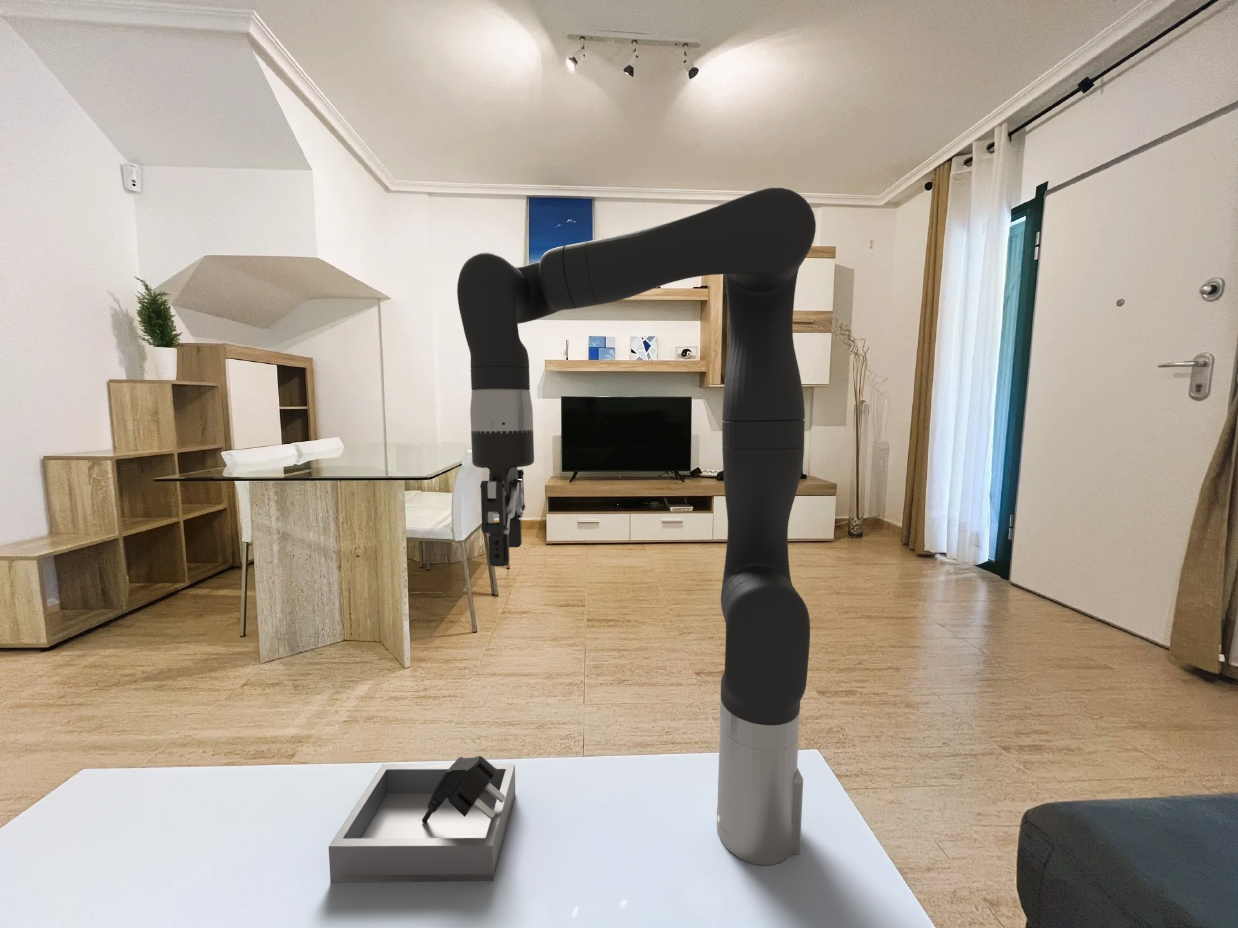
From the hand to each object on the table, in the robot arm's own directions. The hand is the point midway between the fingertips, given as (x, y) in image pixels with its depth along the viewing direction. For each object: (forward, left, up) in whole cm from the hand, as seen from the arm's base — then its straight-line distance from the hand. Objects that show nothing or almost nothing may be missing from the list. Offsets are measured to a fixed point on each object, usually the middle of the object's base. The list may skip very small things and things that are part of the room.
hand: (506, 555), depth 64 cm
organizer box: (+9, +5, -34) cm, 36 cm away
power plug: (+8, +5, -35) cm, 36 cm away
